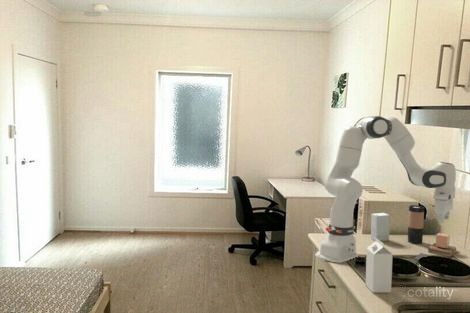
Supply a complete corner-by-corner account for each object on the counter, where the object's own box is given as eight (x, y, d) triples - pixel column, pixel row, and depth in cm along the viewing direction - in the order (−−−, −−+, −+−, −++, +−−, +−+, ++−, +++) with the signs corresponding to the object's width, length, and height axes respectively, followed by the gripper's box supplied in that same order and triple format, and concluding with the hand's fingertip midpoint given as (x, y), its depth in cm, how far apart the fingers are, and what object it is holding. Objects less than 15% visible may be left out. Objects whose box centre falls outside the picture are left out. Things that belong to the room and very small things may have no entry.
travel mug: (425, 244, 196) (427, 208, 195) (411, 244, 196) (412, 208, 195) (418, 240, 204) (420, 205, 202) (404, 240, 204) (406, 205, 203)
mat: (437, 264, 166) (437, 263, 166) (413, 259, 173) (413, 258, 173) (443, 258, 174) (443, 257, 174) (420, 253, 181) (420, 253, 181)
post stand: (450, 256, 177) (451, 240, 177) (428, 252, 184) (428, 236, 183) (456, 250, 186) (456, 235, 185) (434, 246, 193) (435, 231, 192)
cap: (446, 248, 181) (447, 236, 181) (435, 246, 185) (436, 234, 184) (449, 246, 185) (449, 234, 184) (438, 244, 188) (438, 232, 188)
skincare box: (383, 237, 208) (384, 212, 207) (389, 241, 202) (390, 214, 201) (370, 238, 206) (370, 213, 205) (376, 241, 201) (376, 215, 200)
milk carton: (382, 284, 144) (384, 238, 143) (391, 292, 137) (393, 243, 136) (365, 285, 144) (366, 238, 142) (372, 293, 137) (374, 243, 135)
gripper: (443, 190, 193) (442, 216, 194) (432, 195, 178) (431, 223, 179) (456, 191, 188) (455, 218, 189) (447, 197, 173) (446, 225, 174)
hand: (444, 220), depth 184 cm, fingers open, 8 cm apart
